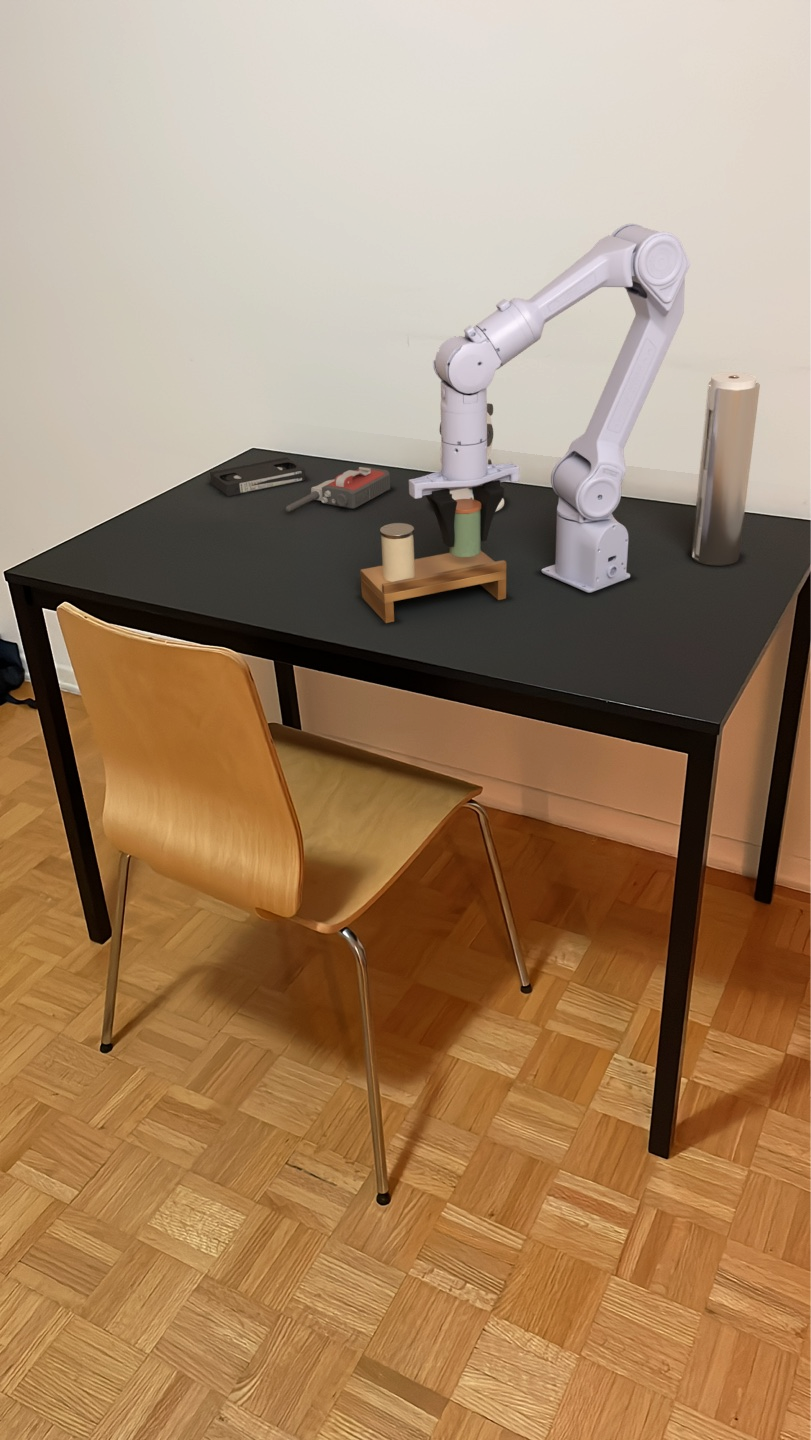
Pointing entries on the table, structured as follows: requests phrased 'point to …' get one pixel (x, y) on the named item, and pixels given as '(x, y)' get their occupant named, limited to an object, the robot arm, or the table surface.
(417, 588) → the shelf
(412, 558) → the cream tin
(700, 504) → the silver metal cylinder
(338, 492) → the walkie-talkie
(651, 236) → the robot arm
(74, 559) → the table surface
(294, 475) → the vhs tape
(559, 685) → the table surface
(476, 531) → the sage tin
